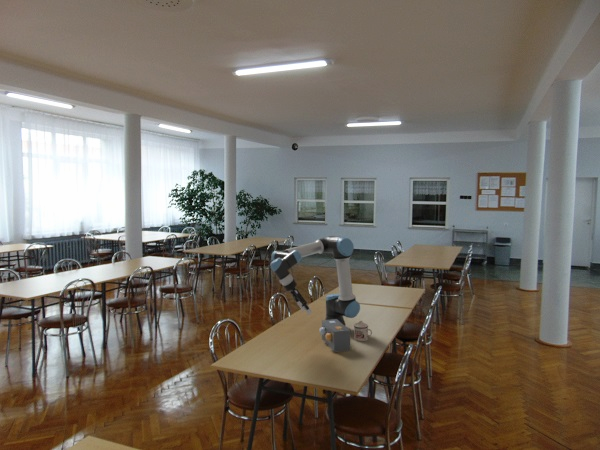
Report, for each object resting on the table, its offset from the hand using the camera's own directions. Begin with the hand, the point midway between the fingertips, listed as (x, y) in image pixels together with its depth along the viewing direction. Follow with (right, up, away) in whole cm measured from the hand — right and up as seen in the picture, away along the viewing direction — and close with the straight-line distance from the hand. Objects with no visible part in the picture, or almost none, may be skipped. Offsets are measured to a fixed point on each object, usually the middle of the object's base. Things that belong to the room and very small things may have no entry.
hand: (307, 311), depth 249 cm
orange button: (+13, -17, 0) cm, 22 cm away
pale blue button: (+10, -17, +12) cm, 23 cm away
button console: (+18, -22, +8) cm, 29 cm away
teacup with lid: (+36, -21, +16) cm, 44 cm away
